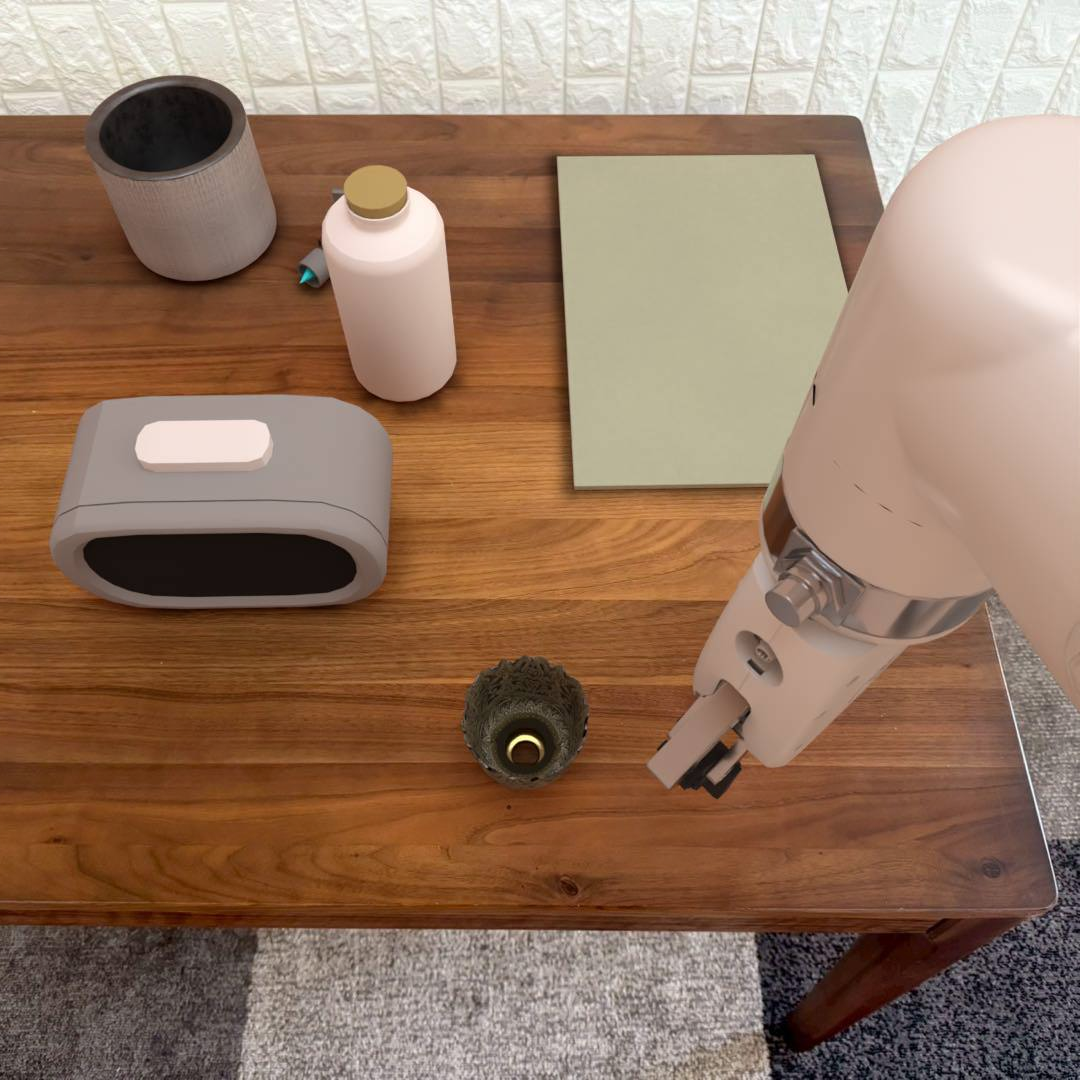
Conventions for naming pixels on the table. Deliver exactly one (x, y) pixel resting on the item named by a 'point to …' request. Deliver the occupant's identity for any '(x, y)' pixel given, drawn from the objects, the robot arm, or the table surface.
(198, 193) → the planter
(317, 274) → the toy gun
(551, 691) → the brown jagged-rimmed vessel
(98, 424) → the alarm clock
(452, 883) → the table surface
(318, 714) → the table surface
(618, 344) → the mat
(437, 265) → the potion bottle
